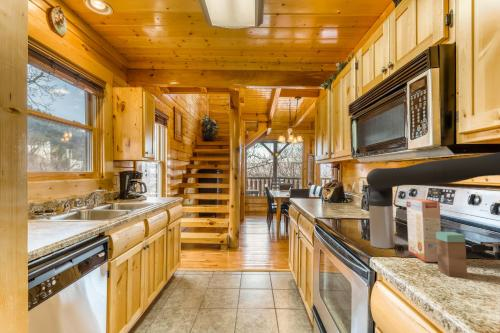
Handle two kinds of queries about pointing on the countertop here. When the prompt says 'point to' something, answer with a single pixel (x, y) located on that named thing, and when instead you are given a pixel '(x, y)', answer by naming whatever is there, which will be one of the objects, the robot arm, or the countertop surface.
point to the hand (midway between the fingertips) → (483, 251)
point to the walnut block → (451, 254)
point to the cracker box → (423, 228)
